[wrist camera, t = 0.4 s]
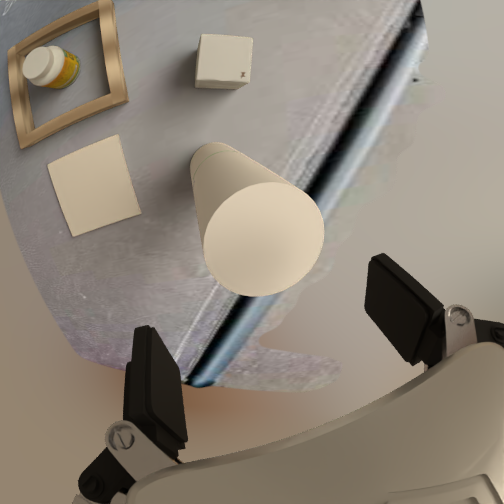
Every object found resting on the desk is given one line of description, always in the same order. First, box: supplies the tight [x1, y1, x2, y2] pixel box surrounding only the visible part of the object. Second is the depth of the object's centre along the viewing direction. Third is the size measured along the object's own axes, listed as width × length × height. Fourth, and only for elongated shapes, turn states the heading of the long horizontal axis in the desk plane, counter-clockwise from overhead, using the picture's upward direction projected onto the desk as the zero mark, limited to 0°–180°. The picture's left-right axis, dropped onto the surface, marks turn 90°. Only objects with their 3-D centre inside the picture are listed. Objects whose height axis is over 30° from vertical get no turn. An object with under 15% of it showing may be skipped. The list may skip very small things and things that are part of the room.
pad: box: [47, 134, 141, 237], centre depth 33 cm, size 12×12×1 cm
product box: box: [195, 34, 253, 89], centre depth 27 cm, size 6×6×7 cm
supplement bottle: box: [22, 46, 80, 89], centre depth 20 cm, size 5×5×10 cm
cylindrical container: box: [190, 142, 324, 296], centre depth 26 cm, size 7×7×25 cm
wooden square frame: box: [8, 0, 129, 149], centre depth 23 cm, size 17×17×3 cm
